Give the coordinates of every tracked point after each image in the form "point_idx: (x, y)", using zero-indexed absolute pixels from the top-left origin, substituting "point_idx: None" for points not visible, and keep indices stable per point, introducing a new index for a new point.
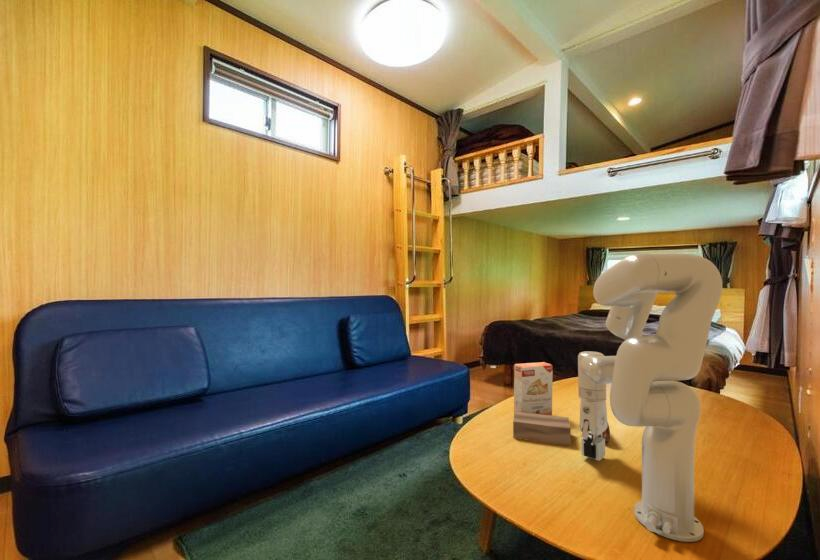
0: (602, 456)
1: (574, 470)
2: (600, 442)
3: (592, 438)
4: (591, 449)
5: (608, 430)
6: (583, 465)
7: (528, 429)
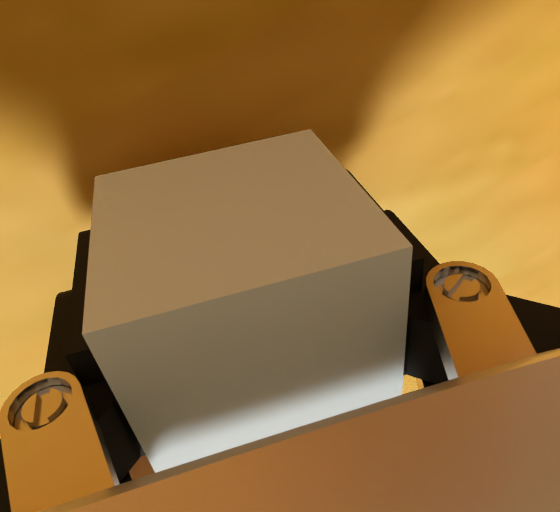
0: (207, 159)
1: (522, 180)
2: (345, 261)
3: (528, 348)
4: (418, 247)
5: None
6: (396, 193)
7: None
